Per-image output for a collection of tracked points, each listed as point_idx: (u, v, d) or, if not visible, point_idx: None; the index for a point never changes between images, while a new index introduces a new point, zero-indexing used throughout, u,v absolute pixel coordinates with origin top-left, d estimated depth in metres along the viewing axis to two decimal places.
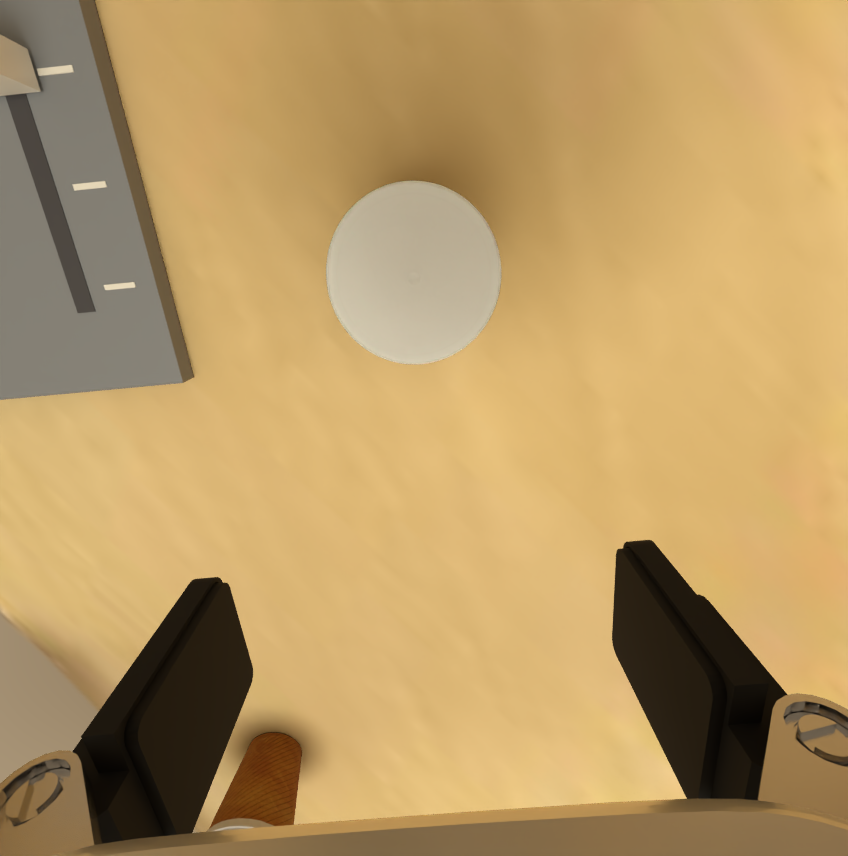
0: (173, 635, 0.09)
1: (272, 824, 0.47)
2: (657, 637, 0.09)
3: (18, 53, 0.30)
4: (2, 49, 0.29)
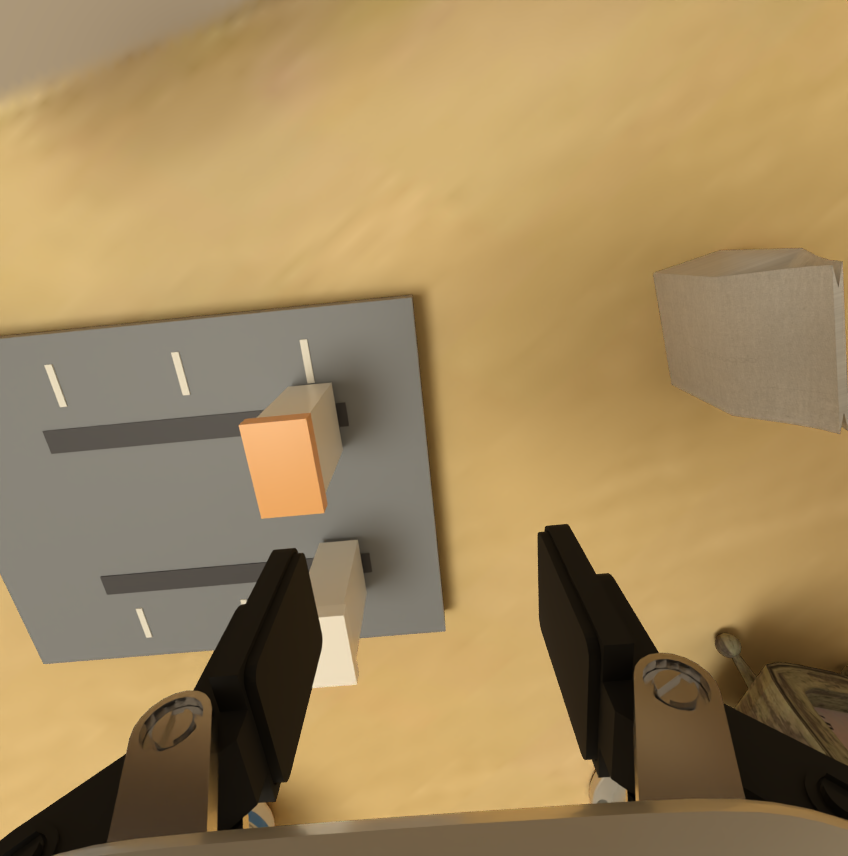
0: (268, 595, 0.10)
1: None
2: (560, 609, 0.10)
3: None
4: None
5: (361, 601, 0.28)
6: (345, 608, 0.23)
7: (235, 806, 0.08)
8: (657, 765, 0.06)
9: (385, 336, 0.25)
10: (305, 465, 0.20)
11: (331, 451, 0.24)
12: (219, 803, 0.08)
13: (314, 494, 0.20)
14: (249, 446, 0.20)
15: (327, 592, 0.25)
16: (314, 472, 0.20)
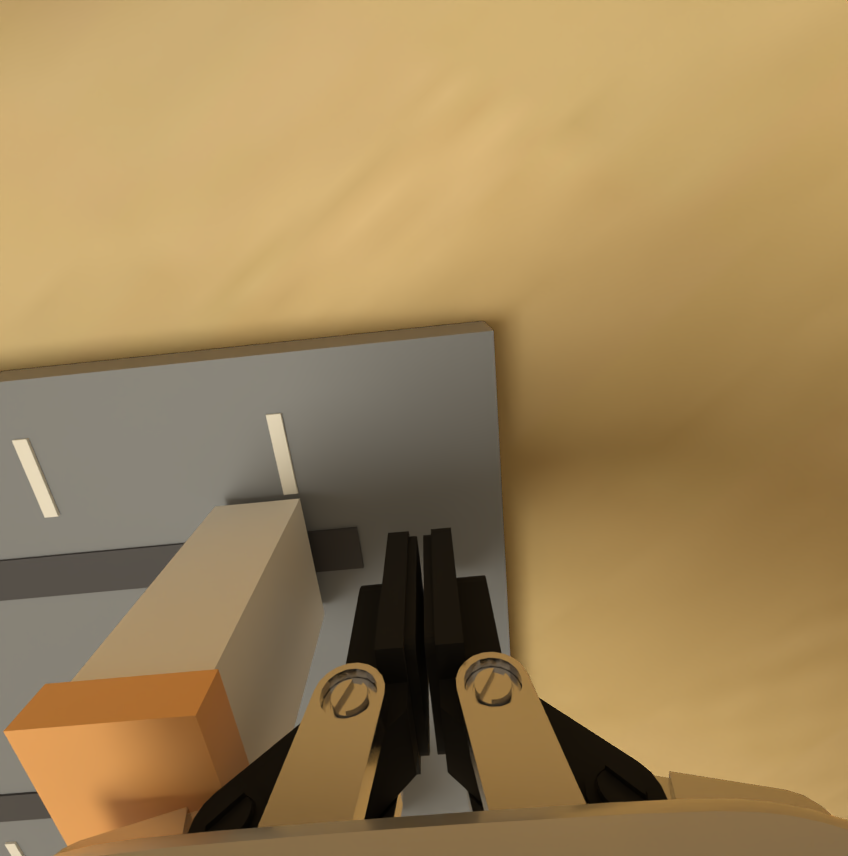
0: (402, 575, 0.10)
1: None
2: None
3: None
4: None
5: None
6: None
7: (401, 775, 0.08)
8: (497, 774, 0.06)
9: (438, 407, 0.13)
10: None
11: (296, 657, 0.12)
12: (376, 786, 0.08)
13: None
14: (44, 777, 0.07)
15: None
16: None
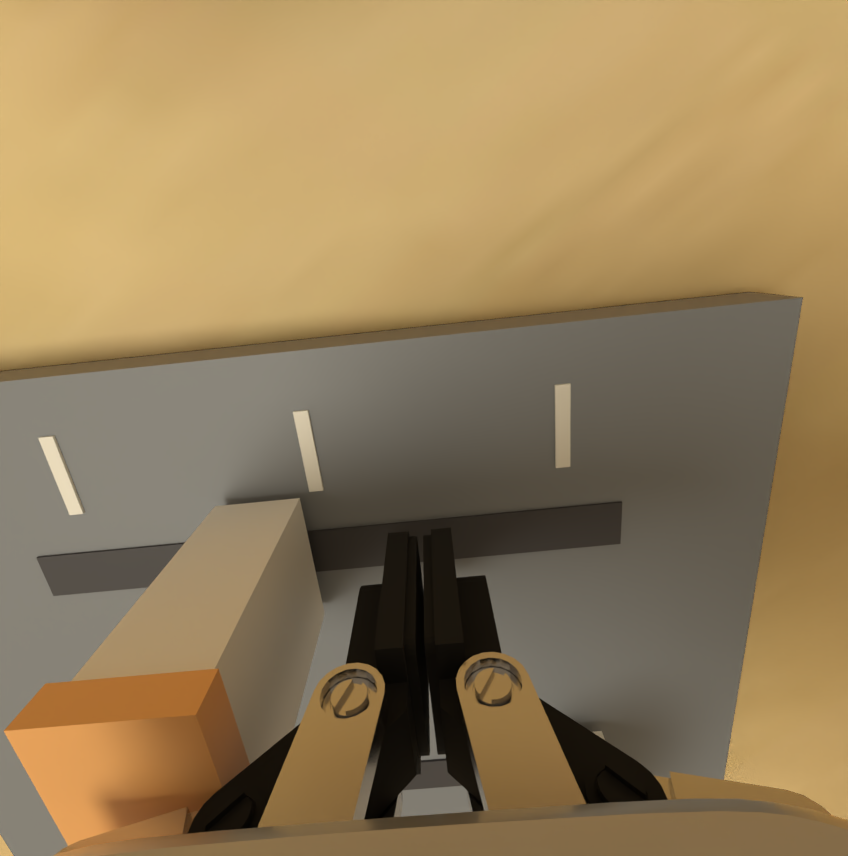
0: (402, 575, 0.10)
1: None
2: None
3: None
4: None
5: None
6: None
7: (400, 775, 0.08)
8: (497, 773, 0.06)
9: (729, 378, 0.12)
10: None
11: (296, 657, 0.12)
12: (376, 787, 0.08)
13: None
14: (44, 776, 0.07)
15: None
16: None
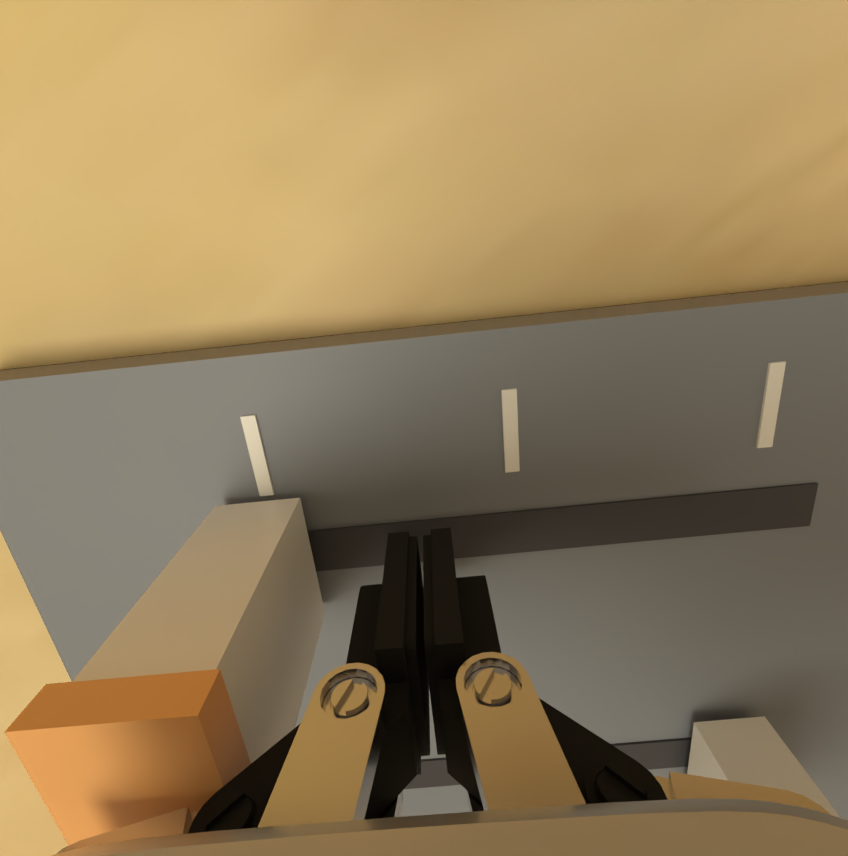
0: (402, 575, 0.10)
1: None
2: None
3: None
4: None
5: None
6: None
7: (401, 776, 0.08)
8: (497, 774, 0.06)
9: None
10: None
11: (297, 656, 0.12)
12: (376, 786, 0.08)
13: None
14: (46, 778, 0.07)
15: None
16: None
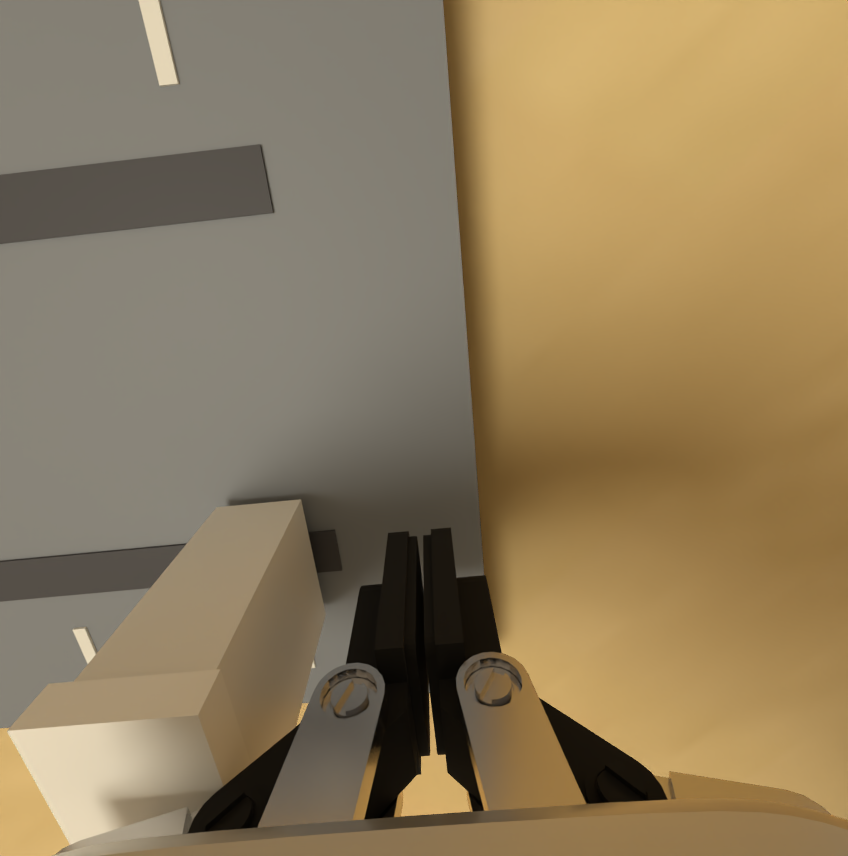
0: (402, 575, 0.10)
1: None
2: None
3: None
4: None
5: (306, 637, 0.12)
6: (214, 685, 0.07)
7: (401, 775, 0.08)
8: (497, 773, 0.06)
9: None
10: None
11: None
12: (376, 786, 0.08)
13: None
14: None
15: (186, 627, 0.09)
16: None
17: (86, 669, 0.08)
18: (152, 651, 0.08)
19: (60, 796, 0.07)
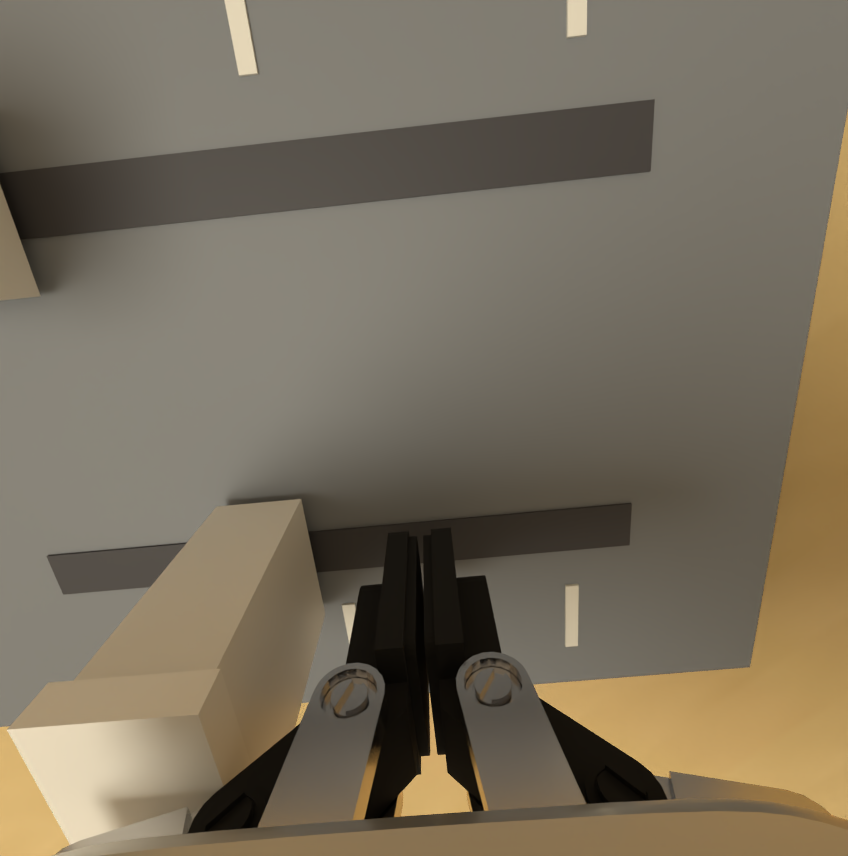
0: (402, 575, 0.10)
1: None
2: None
3: None
4: None
5: (306, 637, 0.12)
6: (215, 684, 0.07)
7: (400, 775, 0.08)
8: (498, 774, 0.06)
9: None
10: None
11: None
12: (376, 786, 0.08)
13: None
14: None
15: (186, 626, 0.09)
16: None
17: (86, 668, 0.08)
18: (152, 650, 0.08)
19: (60, 795, 0.07)
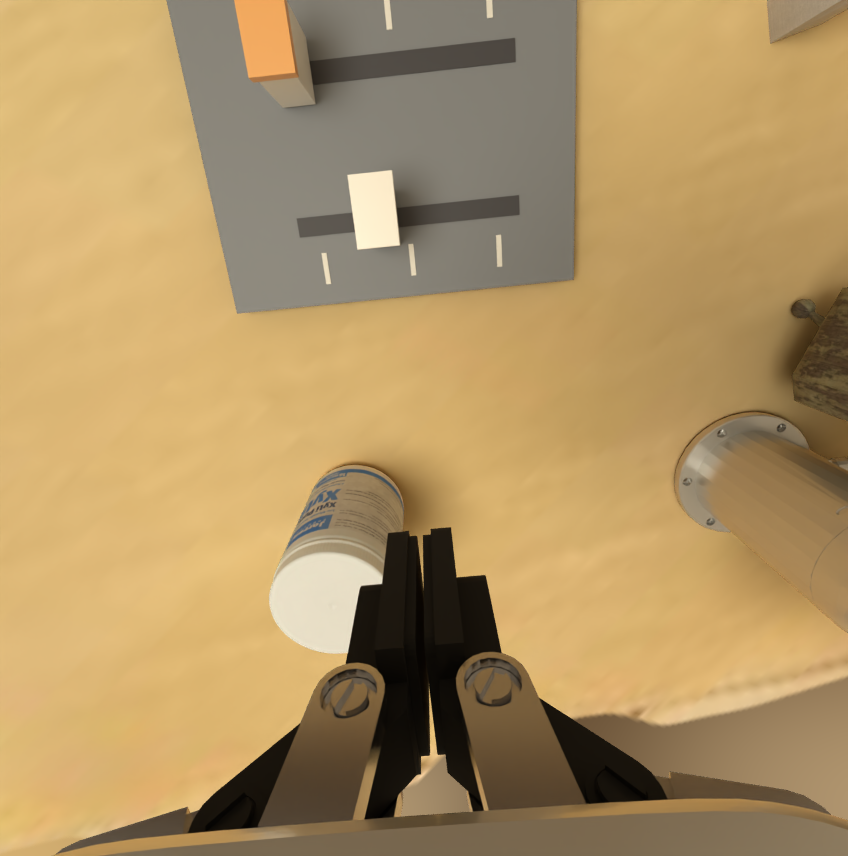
0: (402, 575, 0.10)
1: None
2: None
3: None
4: None
5: None
6: (392, 173, 0.30)
7: (401, 776, 0.08)
8: (497, 773, 0.06)
9: None
10: (280, 24, 0.27)
11: (304, 73, 0.31)
12: (376, 786, 0.08)
13: (287, 53, 0.27)
14: (238, 5, 0.27)
15: None
16: (287, 31, 0.27)
17: None
18: None
19: (354, 199, 0.30)
